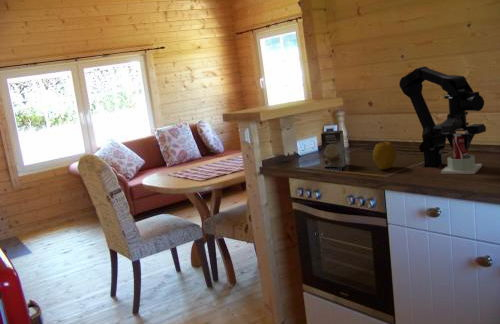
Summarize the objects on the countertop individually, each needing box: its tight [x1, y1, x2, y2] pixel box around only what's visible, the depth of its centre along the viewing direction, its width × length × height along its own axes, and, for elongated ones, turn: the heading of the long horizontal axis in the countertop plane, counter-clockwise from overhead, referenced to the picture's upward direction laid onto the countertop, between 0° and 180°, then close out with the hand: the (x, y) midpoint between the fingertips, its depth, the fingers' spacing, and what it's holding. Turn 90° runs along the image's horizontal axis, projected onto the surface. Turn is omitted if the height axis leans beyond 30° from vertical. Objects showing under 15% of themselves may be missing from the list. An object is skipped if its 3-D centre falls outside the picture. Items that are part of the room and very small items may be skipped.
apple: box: [372, 141, 397, 170], centre depth 218 cm, size 10×10×12 cm
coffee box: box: [320, 130, 347, 168], centre depth 237 cm, size 9×6×16 cm
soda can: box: [452, 132, 470, 159], centre depth 197 cm, size 5×5×12 cm
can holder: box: [440, 154, 483, 175], centre depth 199 cm, size 12×12×5 cm
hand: (460, 150), depth 198 cm, fingers closed on soda can, 5 cm apart
